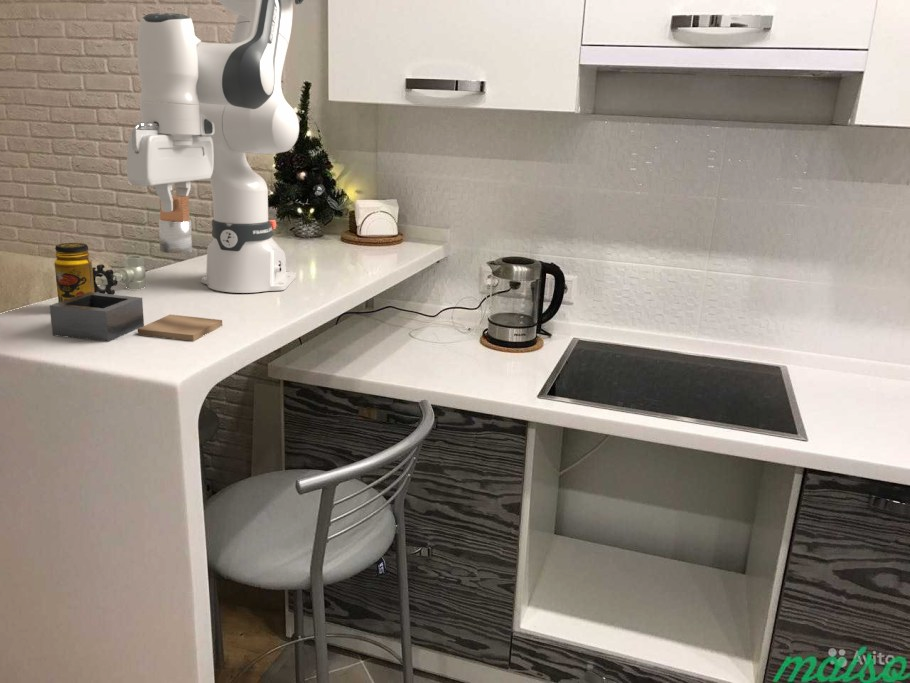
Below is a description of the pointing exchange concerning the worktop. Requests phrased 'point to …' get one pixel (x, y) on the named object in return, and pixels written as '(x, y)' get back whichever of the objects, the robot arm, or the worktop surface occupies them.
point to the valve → (121, 275)
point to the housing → (97, 316)
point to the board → (180, 327)
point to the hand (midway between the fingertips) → (174, 210)
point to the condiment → (73, 270)
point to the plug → (176, 227)
